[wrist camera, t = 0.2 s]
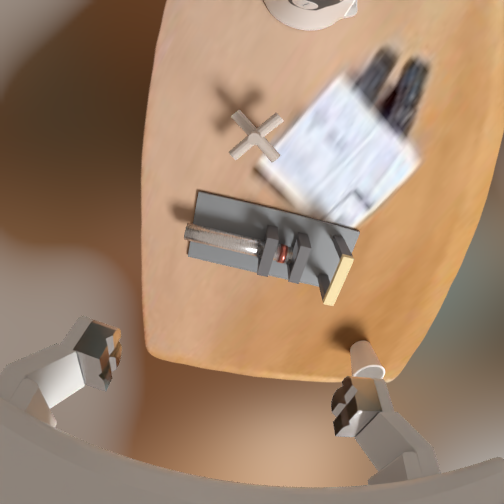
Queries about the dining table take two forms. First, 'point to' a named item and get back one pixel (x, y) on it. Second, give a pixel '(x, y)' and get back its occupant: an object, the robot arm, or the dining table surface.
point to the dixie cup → (365, 361)
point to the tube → (235, 242)
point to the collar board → (278, 232)
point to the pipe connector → (255, 136)
